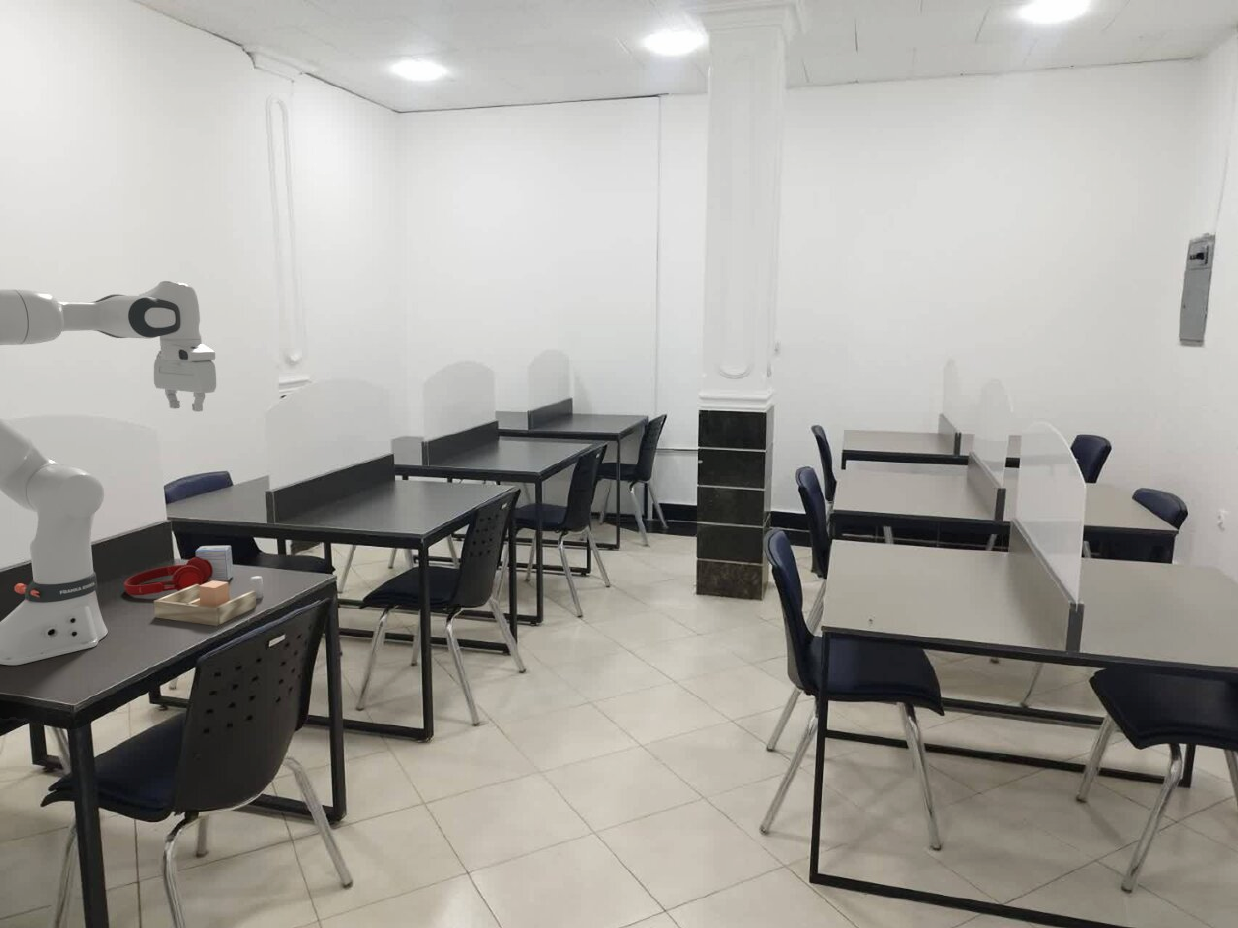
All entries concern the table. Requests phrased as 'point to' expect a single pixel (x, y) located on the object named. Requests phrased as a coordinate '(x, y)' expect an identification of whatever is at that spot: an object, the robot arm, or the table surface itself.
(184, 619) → the lane shelf
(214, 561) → the medicine box
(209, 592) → the block
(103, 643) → the table surface
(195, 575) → the headphones
